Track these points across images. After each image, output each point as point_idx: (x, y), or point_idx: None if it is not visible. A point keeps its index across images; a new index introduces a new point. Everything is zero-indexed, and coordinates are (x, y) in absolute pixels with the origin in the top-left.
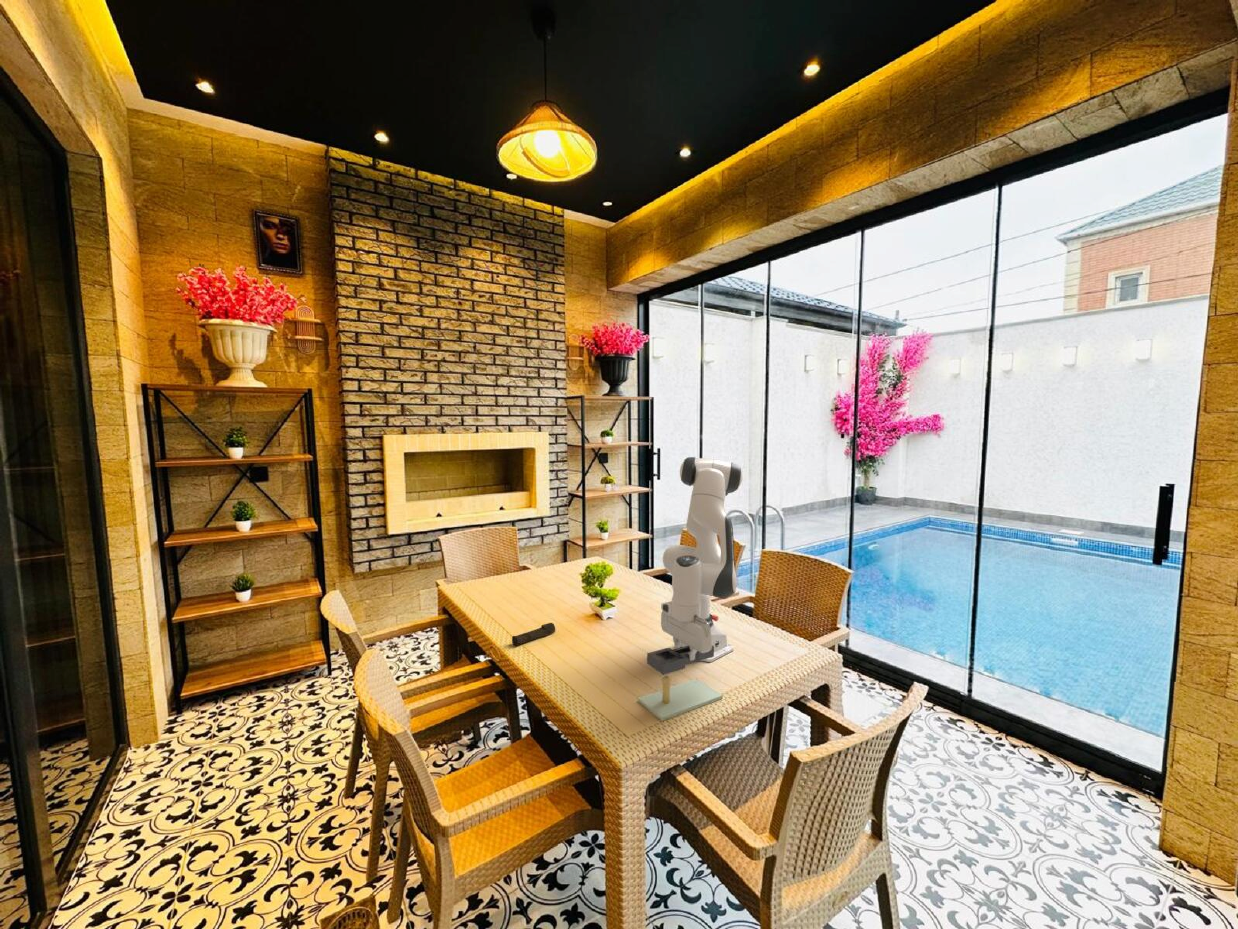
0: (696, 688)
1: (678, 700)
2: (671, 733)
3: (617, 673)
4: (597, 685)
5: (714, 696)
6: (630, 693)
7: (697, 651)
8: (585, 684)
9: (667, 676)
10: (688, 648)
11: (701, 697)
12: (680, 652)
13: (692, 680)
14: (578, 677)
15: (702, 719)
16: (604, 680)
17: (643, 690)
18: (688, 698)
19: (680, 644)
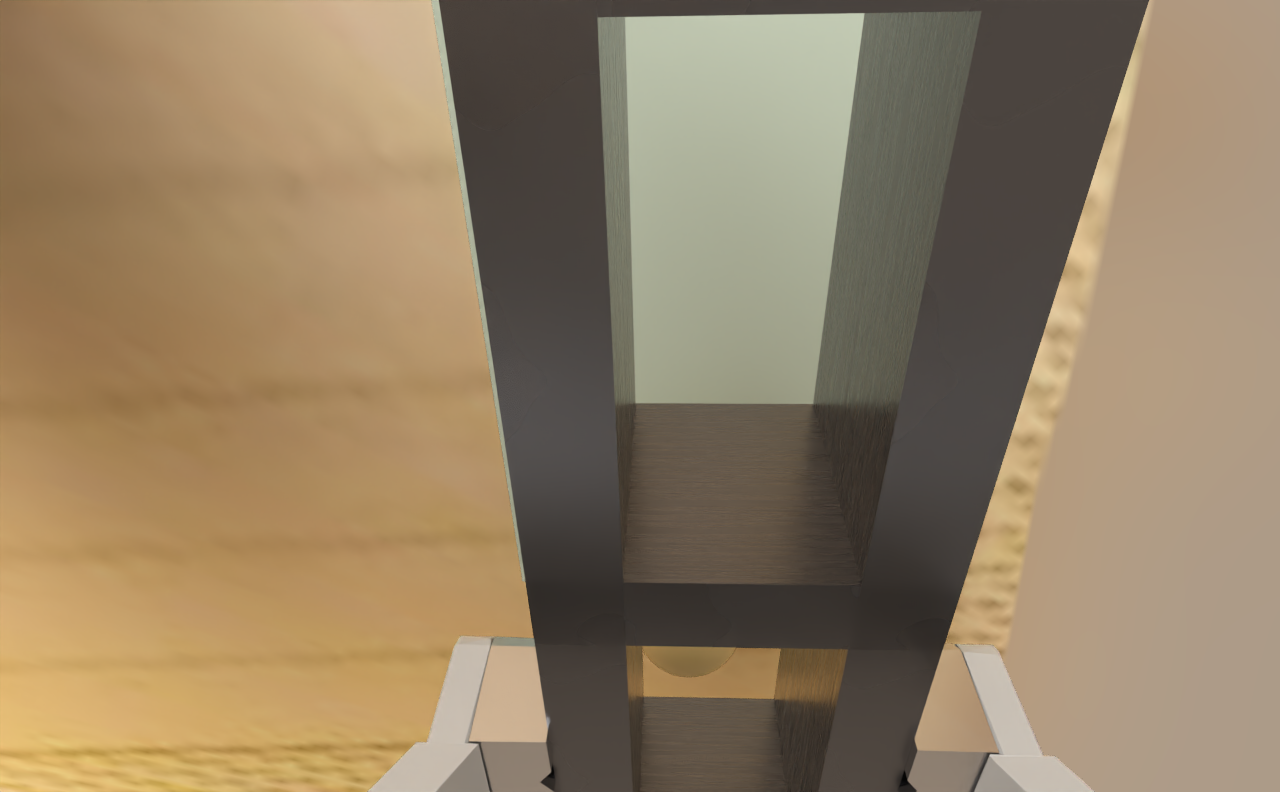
0: (641, 41)
1: (729, 367)
2: (984, 582)
3: (42, 490)
4: (218, 652)
5: None
6: (400, 551)
7: (946, 606)
8: (187, 692)
9: (701, 662)
10: (628, 629)
11: (836, 131)
12: (636, 739)
13: None
14: (78, 689)
15: (1054, 323)
16: (152, 599)
17: (391, 462)
18: (761, 269)
19: (461, 772)
